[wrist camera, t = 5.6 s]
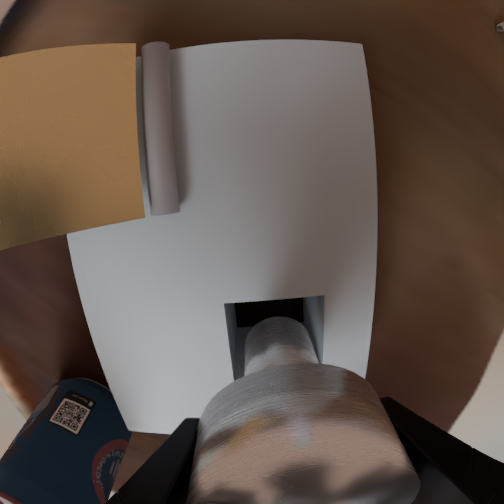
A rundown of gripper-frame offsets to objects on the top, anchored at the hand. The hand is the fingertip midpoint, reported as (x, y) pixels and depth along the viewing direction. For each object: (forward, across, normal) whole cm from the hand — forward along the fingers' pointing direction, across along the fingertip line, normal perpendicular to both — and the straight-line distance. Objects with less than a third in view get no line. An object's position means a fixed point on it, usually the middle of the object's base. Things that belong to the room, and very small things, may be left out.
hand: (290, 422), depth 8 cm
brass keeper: (0, +9, -9) cm, 12 cm away
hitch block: (+9, +2, -3) cm, 10 cm away
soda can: (+10, +14, +9) cm, 19 cm away
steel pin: (+4, 0, 0) cm, 4 cm away
